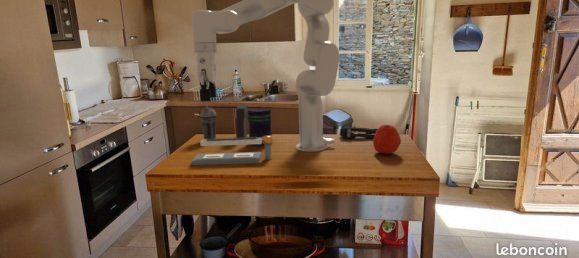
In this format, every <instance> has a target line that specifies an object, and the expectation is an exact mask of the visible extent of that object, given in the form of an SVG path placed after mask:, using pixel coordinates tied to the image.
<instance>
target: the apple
mask: <svg viewBox="0 0 579 258" xmlns="http://www.w3.org/2000/svg"><path fill="white" fill-rule="evenodd" d="M376 130H377V131H376V133H374V135H375V136H374V139H373V141H372V143H373V148H374V150H375V152H378V153H380V154H393V153H395V152H397V150H398V149H399V148H400V146H401V143H402V139H401V136H400V134H399V131H398V129H397V128H396V127H395V126H394V125H390V124H383V125H380V126H379V127H378V128H377V129H376Z"/></svg>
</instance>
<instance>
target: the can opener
mask: <svg viewBox="0 0 579 258" xmlns="http://www.w3.org/2000/svg"><path fill="white" fill-rule="evenodd" d="M376 131H377V129H374V128H368V127H357V126H355V125H354V126H347V127H345V126H343V127H341V128H340V132H339V136H340V137H342V138H344V139H345V140H346V139H347V140H351V139H354V138H366V139H370V140H371V139H374V136H375V133H376ZM356 132H358V133H356ZM370 133H371V134H370Z"/></svg>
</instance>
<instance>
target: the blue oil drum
mask: <svg viewBox="0 0 579 258" xmlns="http://www.w3.org/2000/svg"><path fill="white" fill-rule="evenodd" d="M247 119H248V122H247V123H248V124H249V125H248V126H249V127H248V128H249V132H248V134H249V135H248V138H249V137H262V136H266V135H270V136H272V137H273V133H272V132H273V131H272V109H271V108H269V107H254V108H249V109H247ZM249 145H250V146H252V147H255V146H256V147H255V148H257V147H259V148H262V146H264V143H263V140H262V144H249ZM271 145H273V142H272V143H271Z"/></svg>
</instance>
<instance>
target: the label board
mask: <svg viewBox="0 0 579 258" xmlns="http://www.w3.org/2000/svg"><path fill="white" fill-rule="evenodd" d="M261 157H262V152H261V151H246V152H241V151H240V152H218V153H215V152H213V153H197V154H196V155H195V156H194V157H193V159H192V160H191V166H209V165H210V166H213V165H214V166H215V165H240V164H241V165H243V164H244V165H245V164H247V165H248V164H260V162H261ZM264 160H266V161H271V160H272V144H271V143H270V144H264Z"/></svg>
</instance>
